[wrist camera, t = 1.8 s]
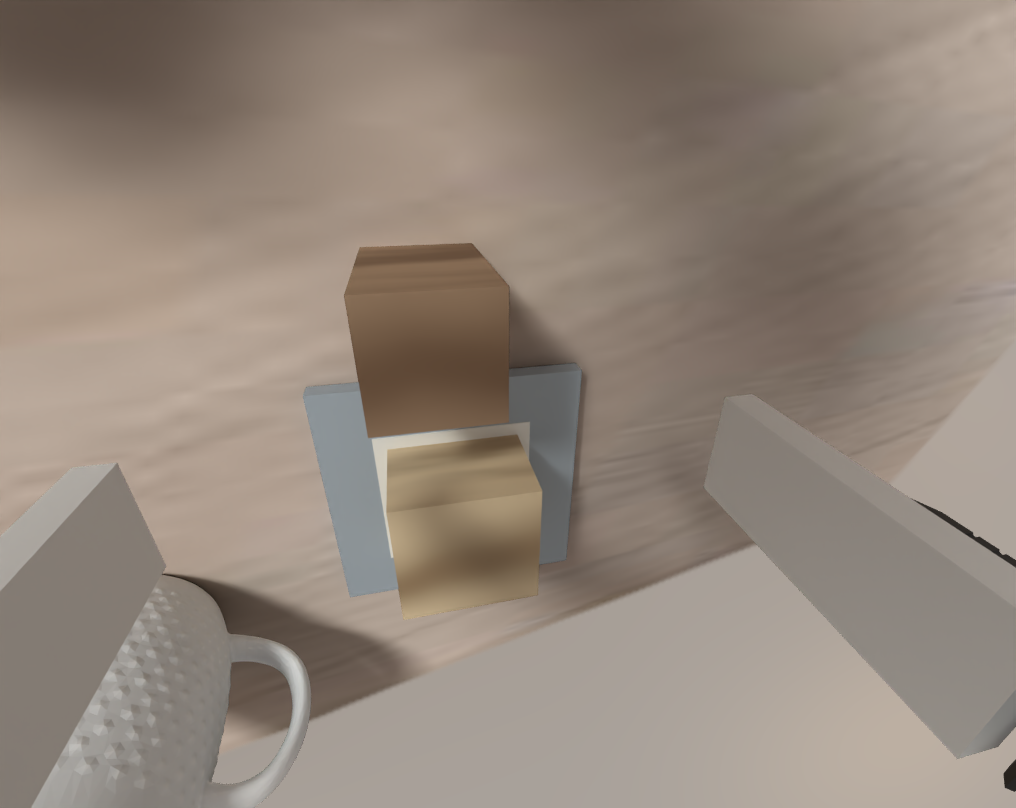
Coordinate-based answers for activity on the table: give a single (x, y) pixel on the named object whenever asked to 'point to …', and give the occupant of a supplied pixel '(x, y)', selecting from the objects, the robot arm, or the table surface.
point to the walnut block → (429, 338)
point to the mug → (172, 713)
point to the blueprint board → (363, 461)
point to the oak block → (463, 524)
